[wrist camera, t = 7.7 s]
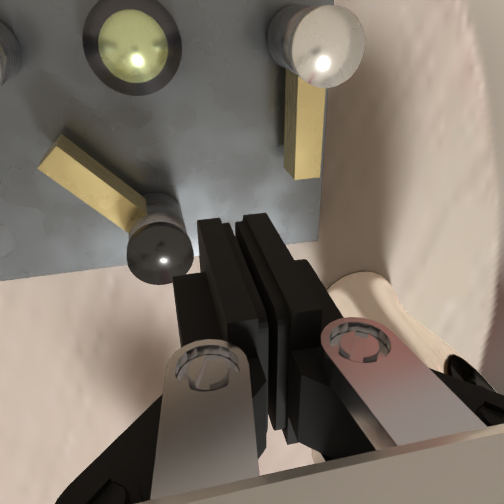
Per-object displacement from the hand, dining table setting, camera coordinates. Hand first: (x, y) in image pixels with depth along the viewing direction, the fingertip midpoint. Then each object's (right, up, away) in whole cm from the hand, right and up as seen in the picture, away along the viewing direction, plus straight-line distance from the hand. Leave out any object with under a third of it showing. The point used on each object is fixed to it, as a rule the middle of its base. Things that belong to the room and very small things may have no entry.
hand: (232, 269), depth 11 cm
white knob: (+3, +9, +13) cm, 16 cm away
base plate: (-5, +8, +14) cm, 17 cm away
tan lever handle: (-7, +4, +14) cm, 16 cm away
